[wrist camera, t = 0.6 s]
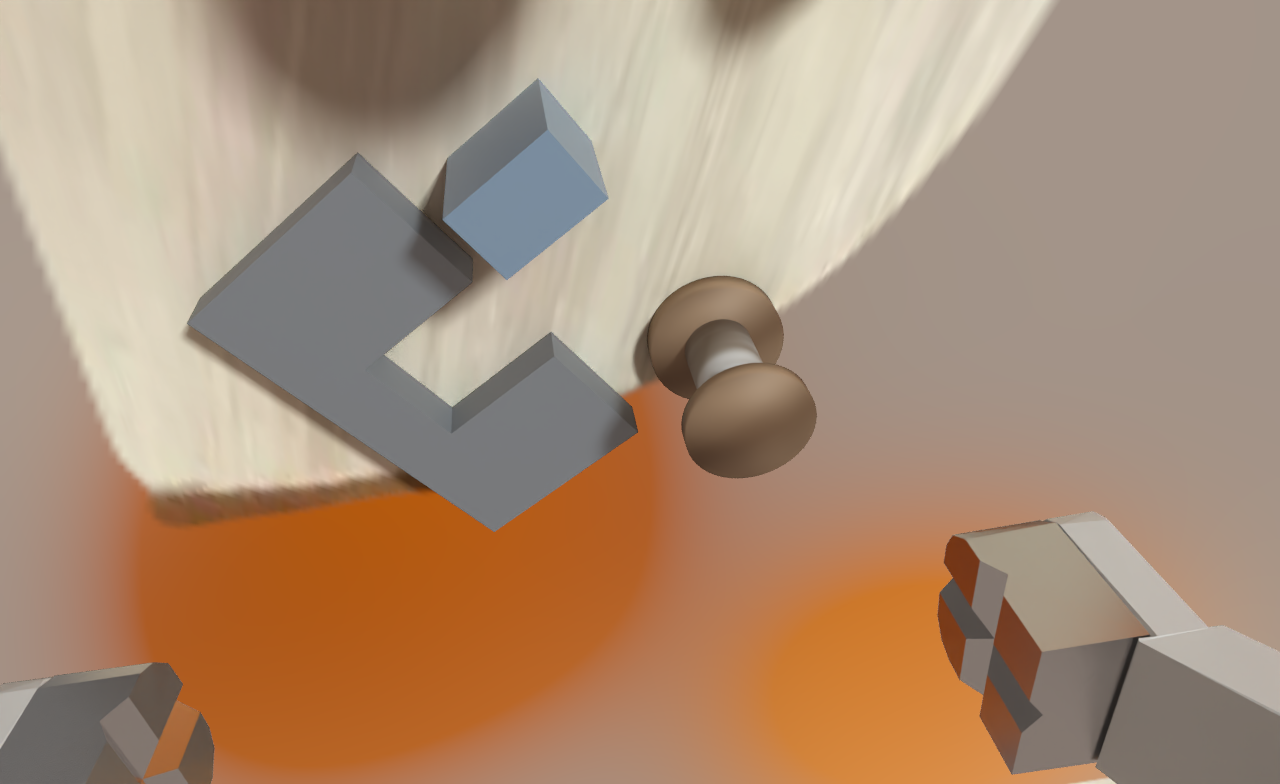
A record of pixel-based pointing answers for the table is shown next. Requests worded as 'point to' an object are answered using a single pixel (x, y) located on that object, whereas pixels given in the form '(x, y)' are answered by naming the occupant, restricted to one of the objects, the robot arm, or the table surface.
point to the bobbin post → (730, 377)
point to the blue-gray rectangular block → (522, 181)
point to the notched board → (380, 318)
